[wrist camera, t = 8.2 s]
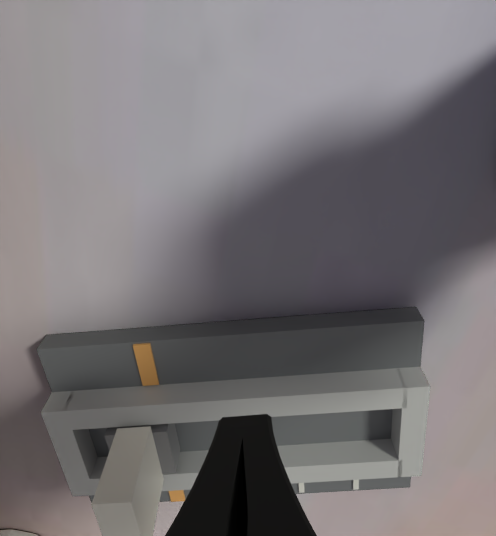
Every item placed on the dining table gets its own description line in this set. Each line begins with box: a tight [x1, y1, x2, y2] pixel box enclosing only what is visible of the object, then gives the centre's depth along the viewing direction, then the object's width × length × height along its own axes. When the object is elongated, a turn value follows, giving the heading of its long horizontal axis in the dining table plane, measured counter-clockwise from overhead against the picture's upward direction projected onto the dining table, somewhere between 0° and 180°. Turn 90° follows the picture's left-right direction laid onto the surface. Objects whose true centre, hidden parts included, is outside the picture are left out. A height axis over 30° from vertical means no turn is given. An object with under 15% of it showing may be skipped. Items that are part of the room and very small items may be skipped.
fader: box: [91, 423, 180, 536], centre depth 22 cm, size 3×4×6 cm
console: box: [37, 307, 430, 502], centre depth 24 cm, size 18×11×3 cm, turn 95°
